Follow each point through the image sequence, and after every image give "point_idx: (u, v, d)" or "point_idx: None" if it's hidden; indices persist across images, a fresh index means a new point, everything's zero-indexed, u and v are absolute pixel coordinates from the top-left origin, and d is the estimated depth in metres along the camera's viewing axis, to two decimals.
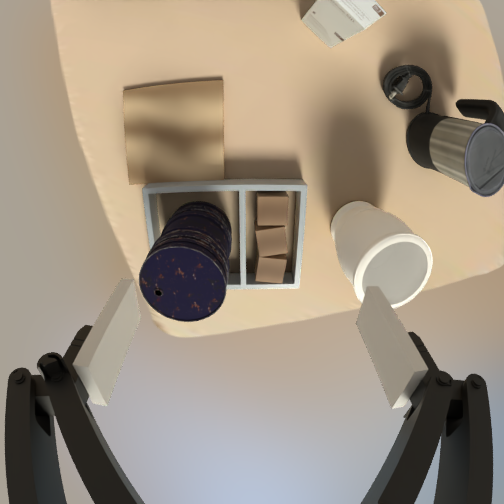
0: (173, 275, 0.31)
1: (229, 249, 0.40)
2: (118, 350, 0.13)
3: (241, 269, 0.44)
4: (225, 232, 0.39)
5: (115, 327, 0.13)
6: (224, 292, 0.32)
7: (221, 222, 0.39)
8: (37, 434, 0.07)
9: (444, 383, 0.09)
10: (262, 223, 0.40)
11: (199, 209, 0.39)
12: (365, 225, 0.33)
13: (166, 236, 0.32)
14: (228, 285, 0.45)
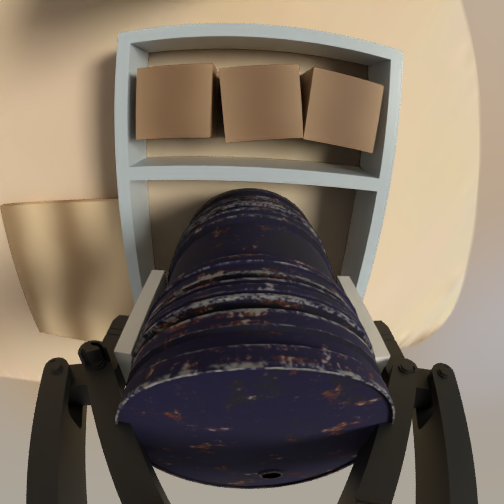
0: (217, 455, 0.09)
1: (260, 218, 0.15)
2: None
3: (336, 184, 0.16)
4: (212, 223, 0.15)
5: None
6: (298, 369, 0.06)
7: (196, 225, 0.16)
8: (67, 426, 0.08)
9: (407, 370, 0.10)
10: (204, 125, 0.14)
11: None
12: None
13: None
14: (373, 220, 0.17)
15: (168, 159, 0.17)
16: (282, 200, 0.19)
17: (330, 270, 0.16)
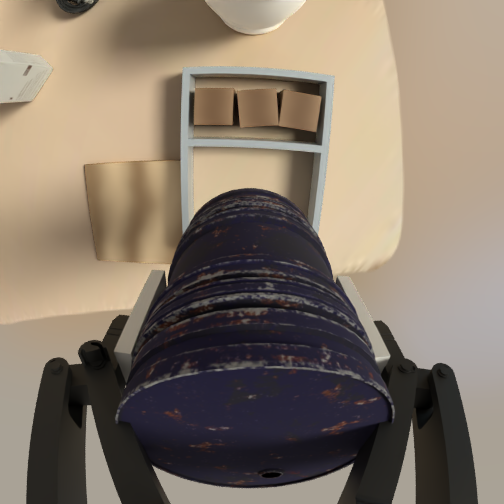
0: (217, 454, 0.09)
1: (260, 217, 0.15)
2: None
3: (297, 149, 0.30)
4: (212, 223, 0.15)
5: None
6: (298, 368, 0.06)
7: (196, 225, 0.16)
8: (67, 426, 0.08)
9: (407, 370, 0.10)
10: (229, 119, 0.28)
11: None
12: None
13: None
14: (320, 169, 0.31)
15: (207, 137, 0.32)
16: (282, 200, 0.19)
17: (330, 270, 0.16)
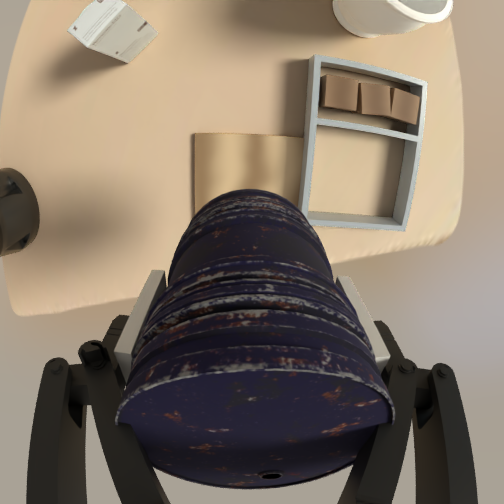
0: (216, 456, 0.09)
1: (260, 218, 0.15)
2: None
3: (401, 137, 0.33)
4: (212, 224, 0.15)
5: None
6: (298, 371, 0.06)
7: (196, 226, 0.16)
8: (67, 426, 0.08)
9: (407, 370, 0.10)
10: (354, 105, 0.31)
11: None
12: (357, 0, 0.20)
13: None
14: (416, 155, 0.34)
15: None
16: (282, 200, 0.19)
17: (330, 271, 0.16)
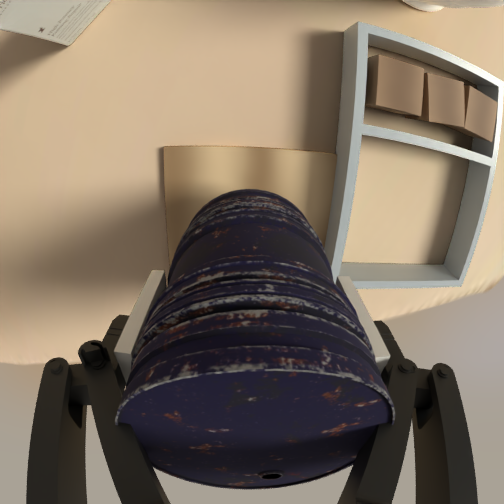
0: (216, 456, 0.09)
1: (260, 218, 0.15)
2: None
3: (473, 159, 0.20)
4: (212, 224, 0.15)
5: None
6: (299, 371, 0.06)
7: (196, 226, 0.16)
8: (67, 426, 0.08)
9: (407, 370, 0.10)
10: (418, 107, 0.18)
11: None
12: None
13: None
14: (487, 184, 0.21)
15: None
16: (282, 201, 0.19)
17: (330, 271, 0.16)
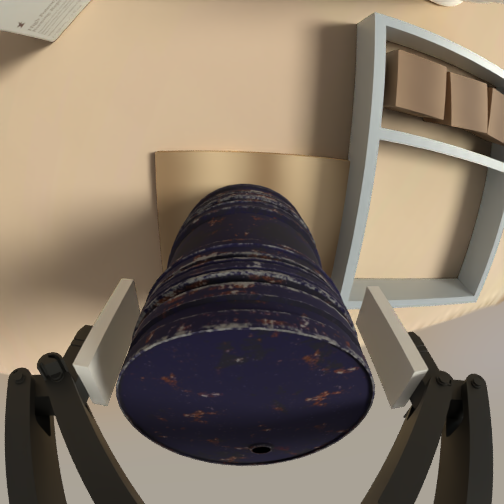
0: (209, 425, 0.10)
1: (253, 209, 0.16)
2: (118, 350, 0.13)
3: (495, 167, 0.17)
4: (208, 214, 0.16)
5: (115, 327, 0.13)
6: (279, 331, 0.08)
7: None
8: (37, 434, 0.07)
9: (444, 383, 0.09)
10: (441, 110, 0.15)
11: None
12: None
13: None
14: None
15: None
16: (275, 194, 0.20)
17: (319, 259, 0.17)
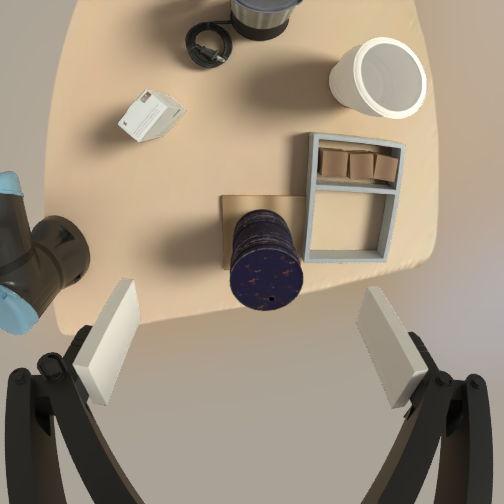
0: (255, 285, 0.39)
1: (265, 221, 0.45)
2: (118, 350, 0.13)
3: (382, 192, 0.46)
4: (249, 223, 0.45)
5: (115, 327, 0.13)
6: (274, 249, 0.37)
7: (243, 224, 0.46)
8: (37, 434, 0.07)
9: (444, 383, 0.09)
10: (344, 173, 0.44)
11: (233, 239, 0.48)
12: (348, 95, 0.33)
13: None
14: (394, 204, 0.47)
15: (323, 181, 0.47)
16: (274, 213, 0.49)
17: (291, 238, 0.46)
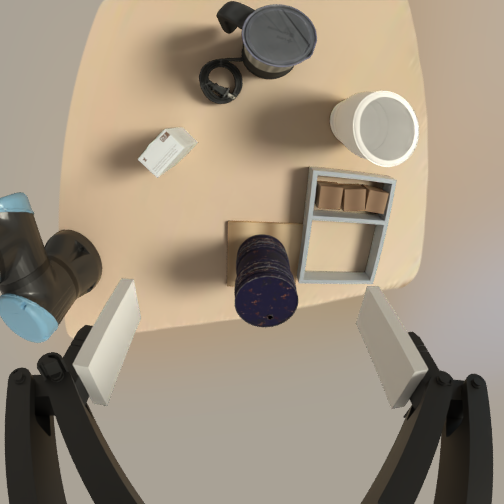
0: (257, 306, 0.45)
1: (266, 247, 0.51)
2: (118, 350, 0.13)
3: (372, 223, 0.52)
4: (252, 249, 0.51)
5: (115, 327, 0.13)
6: (274, 277, 0.43)
7: (246, 248, 0.52)
8: (37, 434, 0.07)
9: (444, 383, 0.09)
10: (339, 206, 0.50)
11: (236, 261, 0.54)
12: (346, 141, 0.39)
13: None
14: (382, 233, 0.53)
15: (319, 212, 0.53)
16: (273, 238, 0.56)
17: (288, 263, 0.52)
